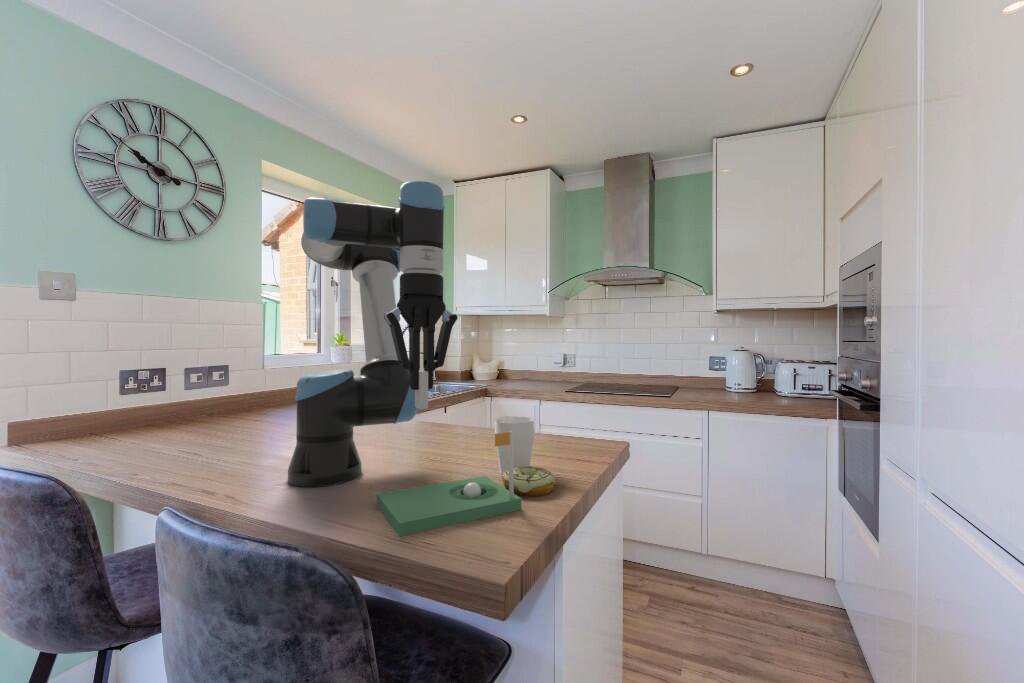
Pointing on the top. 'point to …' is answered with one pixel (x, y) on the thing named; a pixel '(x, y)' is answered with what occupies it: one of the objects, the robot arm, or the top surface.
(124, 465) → the top surface
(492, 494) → the green
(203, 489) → the top surface
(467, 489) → the ball
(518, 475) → the decorated donut
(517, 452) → the cup
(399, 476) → the top surface
